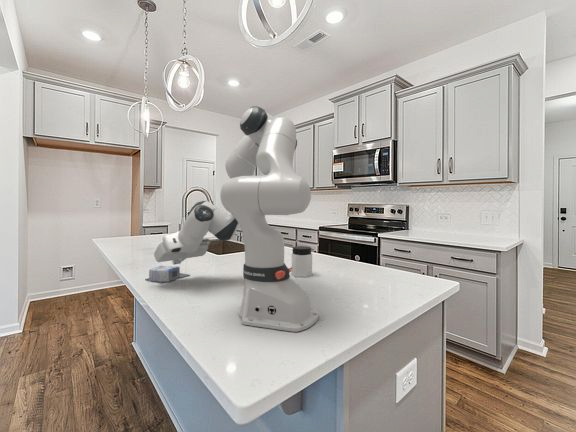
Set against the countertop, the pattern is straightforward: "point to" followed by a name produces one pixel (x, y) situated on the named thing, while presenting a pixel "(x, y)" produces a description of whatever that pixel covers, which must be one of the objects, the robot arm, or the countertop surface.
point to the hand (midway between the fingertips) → (176, 262)
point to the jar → (301, 261)
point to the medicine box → (164, 273)
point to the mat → (173, 279)
